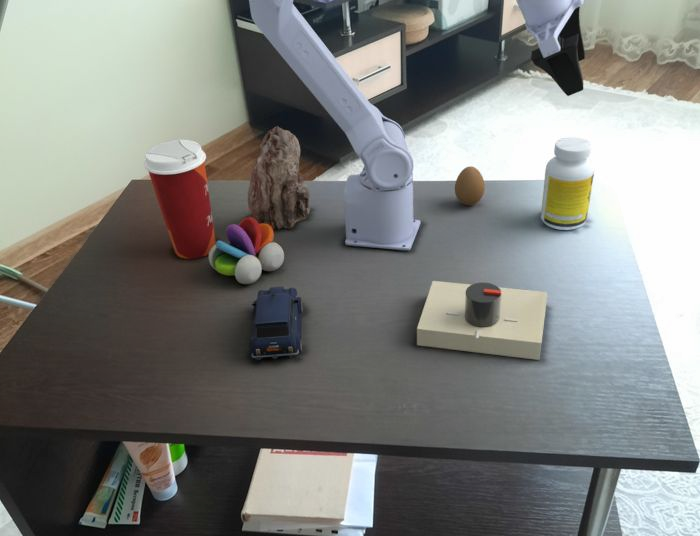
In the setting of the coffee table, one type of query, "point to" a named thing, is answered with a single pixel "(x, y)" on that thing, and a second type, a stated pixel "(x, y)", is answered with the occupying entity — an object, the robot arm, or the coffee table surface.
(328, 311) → the coffee table surface
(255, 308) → the toy car
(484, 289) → the knob
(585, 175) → the pill bottle
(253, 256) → the rainbow baby rattle
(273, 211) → the stone
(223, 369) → the coffee table surface
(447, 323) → the cream dial panel
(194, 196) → the coffee cup
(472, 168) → the egg
